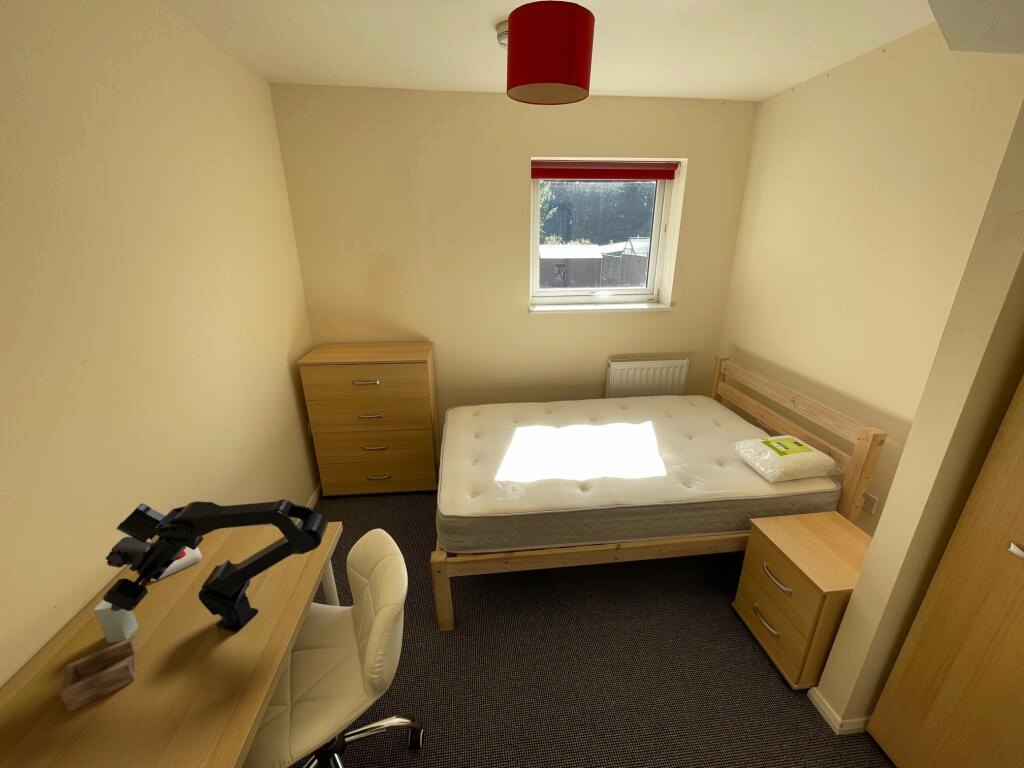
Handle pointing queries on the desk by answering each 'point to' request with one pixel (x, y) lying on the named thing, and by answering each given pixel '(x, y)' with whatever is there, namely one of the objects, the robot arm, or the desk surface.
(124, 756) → the desk surface
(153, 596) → the desk surface
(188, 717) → the desk surface
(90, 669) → the wooden channel cradle
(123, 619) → the clay bar
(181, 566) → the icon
